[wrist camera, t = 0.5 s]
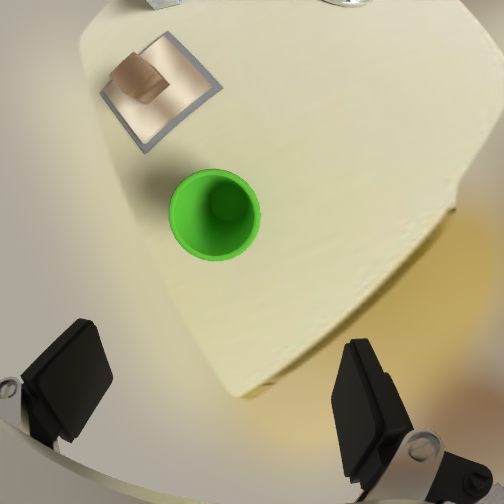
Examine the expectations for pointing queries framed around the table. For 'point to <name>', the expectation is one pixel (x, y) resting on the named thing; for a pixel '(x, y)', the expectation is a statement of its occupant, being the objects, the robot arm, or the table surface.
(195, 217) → the cup
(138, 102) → the lid
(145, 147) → the mat
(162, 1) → the medicine box
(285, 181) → the table surface
